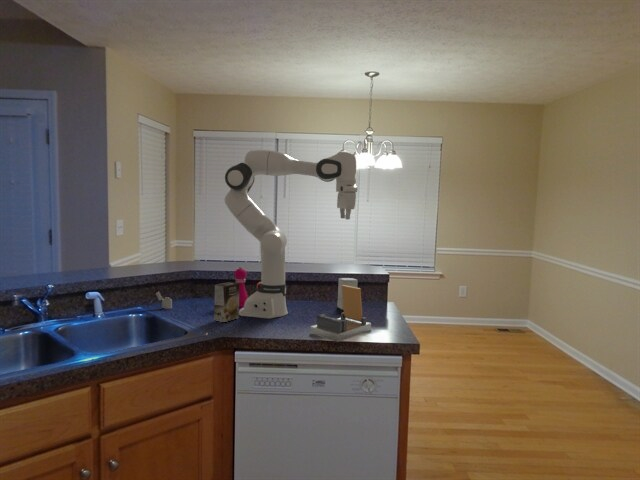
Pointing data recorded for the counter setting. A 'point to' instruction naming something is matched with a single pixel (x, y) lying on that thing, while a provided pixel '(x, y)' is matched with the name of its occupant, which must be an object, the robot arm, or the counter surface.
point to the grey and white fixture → (339, 327)
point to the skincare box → (342, 281)
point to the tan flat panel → (352, 303)
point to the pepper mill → (241, 285)
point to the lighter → (165, 301)
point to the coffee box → (226, 302)
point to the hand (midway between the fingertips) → (345, 218)
